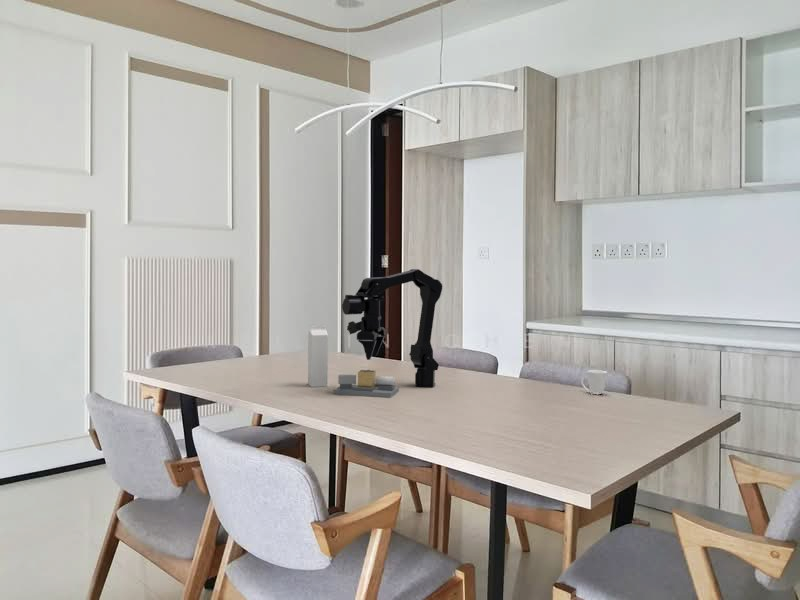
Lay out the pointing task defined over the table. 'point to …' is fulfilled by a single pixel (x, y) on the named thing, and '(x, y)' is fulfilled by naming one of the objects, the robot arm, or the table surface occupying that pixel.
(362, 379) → the gold square block
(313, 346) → the milk
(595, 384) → the cup
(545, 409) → the table surface
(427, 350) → the robot arm
